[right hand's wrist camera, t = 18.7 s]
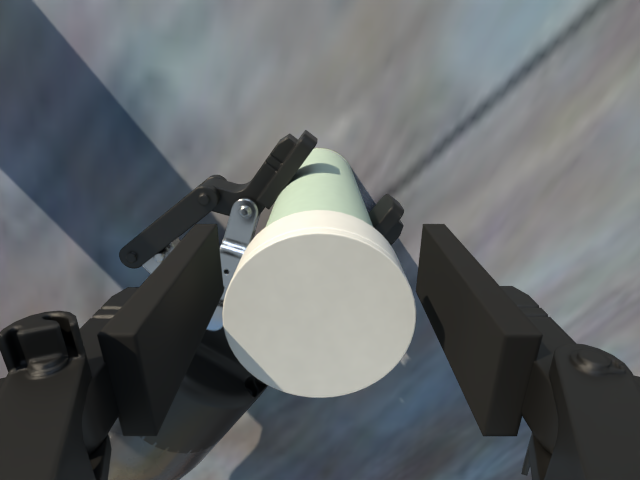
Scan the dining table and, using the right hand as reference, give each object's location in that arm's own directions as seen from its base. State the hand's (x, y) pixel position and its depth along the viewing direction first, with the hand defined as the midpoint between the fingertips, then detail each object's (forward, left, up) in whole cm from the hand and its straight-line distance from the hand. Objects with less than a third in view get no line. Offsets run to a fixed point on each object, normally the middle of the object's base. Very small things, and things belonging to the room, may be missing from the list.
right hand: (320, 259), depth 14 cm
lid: (0, 0, +4) cm, 4 cm away
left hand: (-1, -3, -5) cm, 6 cm away
